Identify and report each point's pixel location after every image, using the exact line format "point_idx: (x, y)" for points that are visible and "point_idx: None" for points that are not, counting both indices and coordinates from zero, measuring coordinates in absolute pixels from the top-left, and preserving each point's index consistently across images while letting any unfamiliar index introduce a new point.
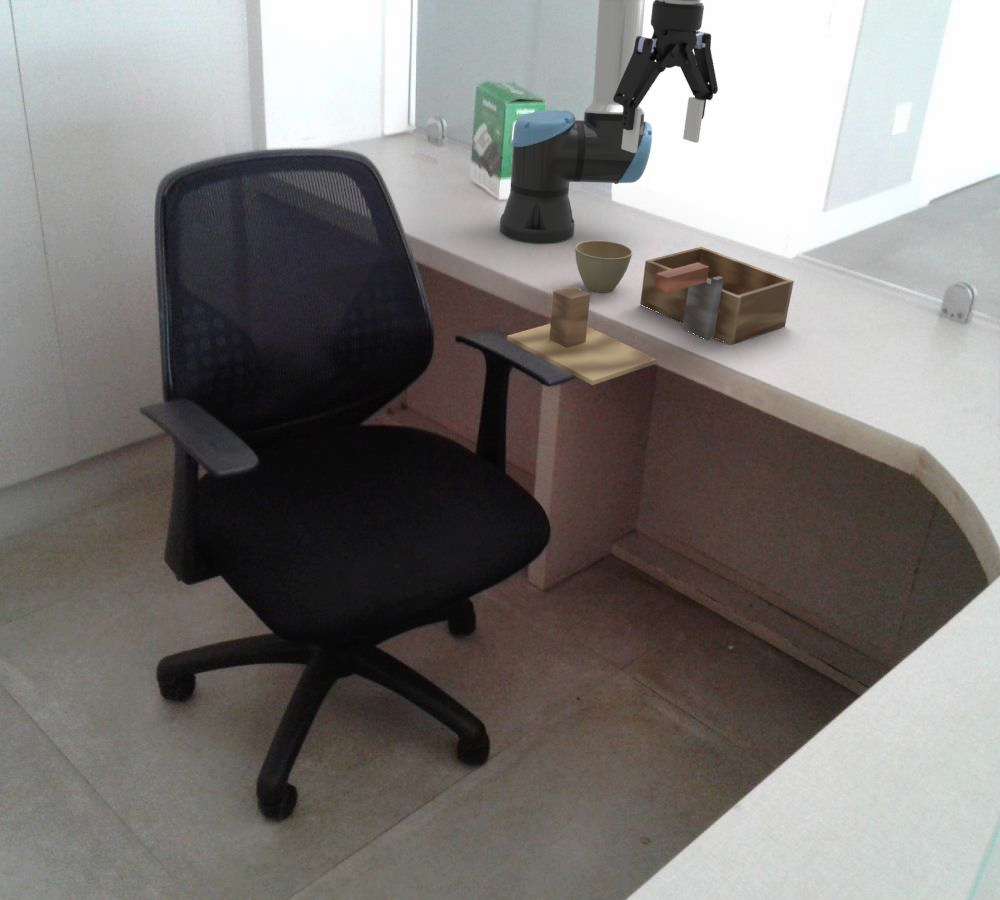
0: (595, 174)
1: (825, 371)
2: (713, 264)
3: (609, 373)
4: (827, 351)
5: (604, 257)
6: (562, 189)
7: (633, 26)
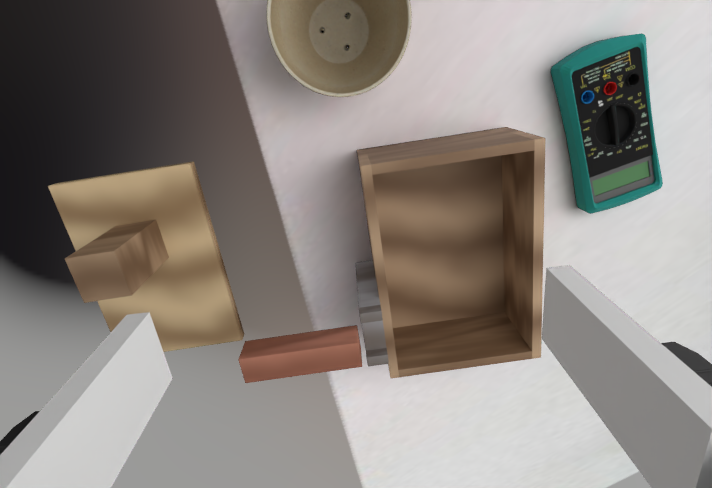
0: None
1: (435, 425)
2: (524, 184)
3: None
4: (488, 389)
5: None
6: None
7: None
